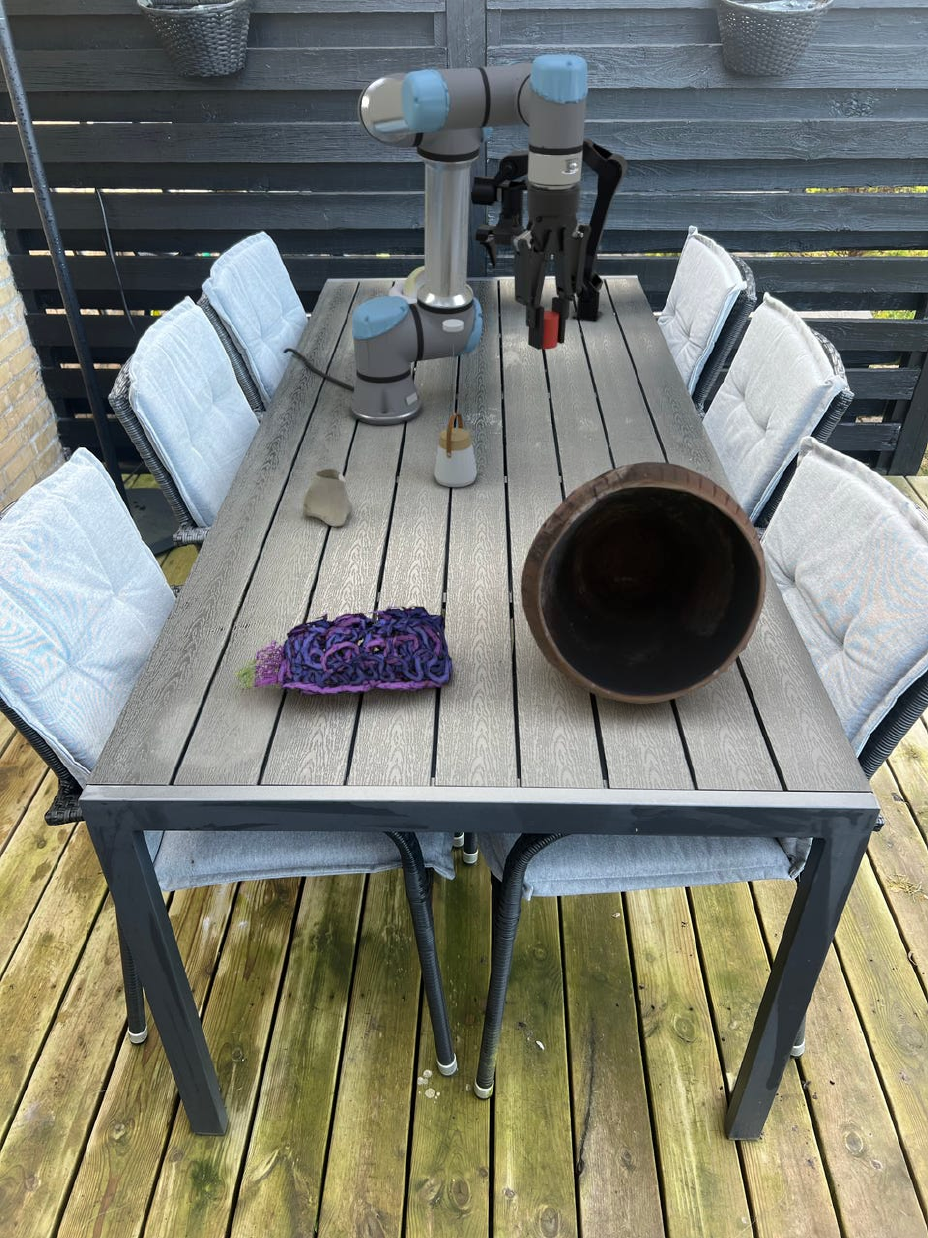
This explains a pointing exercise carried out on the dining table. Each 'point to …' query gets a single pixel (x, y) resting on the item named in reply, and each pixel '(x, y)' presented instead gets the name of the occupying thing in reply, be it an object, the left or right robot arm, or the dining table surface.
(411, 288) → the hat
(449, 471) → the pendant light
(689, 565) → the pot
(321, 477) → the bone
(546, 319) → the can
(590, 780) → the dining table surface
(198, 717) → the dining table surface
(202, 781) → the dining table surface
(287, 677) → the decorative ornament
